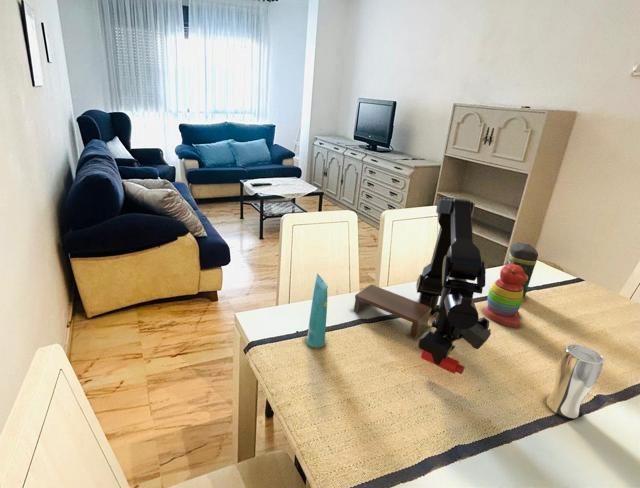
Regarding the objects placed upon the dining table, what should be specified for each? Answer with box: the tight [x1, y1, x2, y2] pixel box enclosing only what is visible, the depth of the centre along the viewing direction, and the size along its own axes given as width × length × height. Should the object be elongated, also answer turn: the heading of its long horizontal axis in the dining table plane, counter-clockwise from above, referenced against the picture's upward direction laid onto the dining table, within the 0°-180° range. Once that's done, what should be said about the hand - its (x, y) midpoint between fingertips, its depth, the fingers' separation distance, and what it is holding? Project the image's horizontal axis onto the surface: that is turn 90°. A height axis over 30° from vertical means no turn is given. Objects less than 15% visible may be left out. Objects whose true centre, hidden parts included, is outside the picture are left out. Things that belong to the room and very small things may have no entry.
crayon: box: [420, 350, 466, 375], centre depth 92 cm, size 9×3×3 cm, turn 49°
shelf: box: [353, 283, 432, 339], centre depth 116 cm, size 10×20×6 cm, turn 49°
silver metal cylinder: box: [546, 343, 605, 419], centre depth 84 cm, size 7×7×15 cm
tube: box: [306, 272, 329, 349], centre depth 101 cm, size 7×5×19 cm, turn 20°
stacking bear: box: [483, 262, 528, 328], centre depth 119 cm, size 11×10×18 cm
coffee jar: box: [505, 242, 539, 300], centre depth 133 cm, size 10×8×19 cm
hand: (439, 360), depth 92 cm, fingers closed on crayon, 3 cm apart
